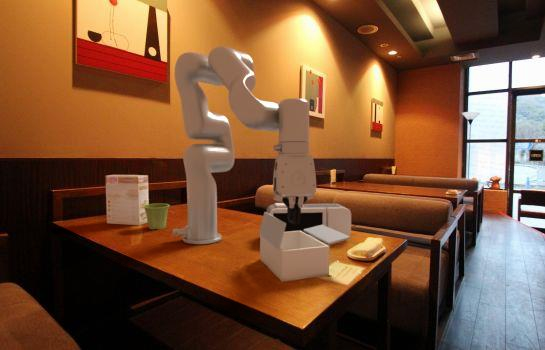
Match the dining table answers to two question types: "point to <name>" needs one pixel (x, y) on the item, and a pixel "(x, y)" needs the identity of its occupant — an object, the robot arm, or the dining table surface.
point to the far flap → (327, 234)
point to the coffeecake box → (126, 199)
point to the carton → (296, 256)
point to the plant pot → (156, 215)
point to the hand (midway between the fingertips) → (294, 222)
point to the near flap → (272, 229)
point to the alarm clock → (315, 217)
